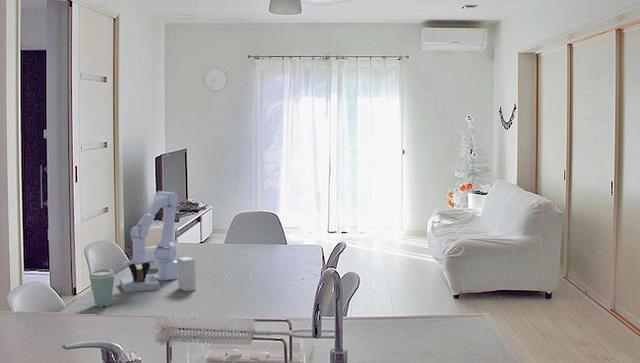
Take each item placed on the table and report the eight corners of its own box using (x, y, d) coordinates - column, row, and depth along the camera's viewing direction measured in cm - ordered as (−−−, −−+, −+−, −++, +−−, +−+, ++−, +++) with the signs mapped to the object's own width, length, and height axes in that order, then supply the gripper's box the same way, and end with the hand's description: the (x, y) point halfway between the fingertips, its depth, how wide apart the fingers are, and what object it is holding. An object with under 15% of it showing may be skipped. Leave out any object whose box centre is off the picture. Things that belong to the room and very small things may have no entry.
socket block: (153, 281, 335) (153, 275, 335) (159, 289, 321) (159, 283, 320) (119, 284, 329) (119, 278, 328) (124, 292, 314) (124, 285, 314)
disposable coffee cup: (112, 308, 287) (111, 273, 286) (86, 308, 286) (85, 273, 285) (117, 301, 298) (117, 268, 296) (92, 301, 297) (92, 268, 295)
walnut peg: (141, 282, 327) (141, 268, 327) (144, 284, 324) (144, 269, 324) (133, 283, 325) (133, 269, 325) (136, 285, 322) (136, 270, 321)
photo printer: (164, 267, 367) (164, 245, 366) (164, 269, 363) (164, 246, 362) (145, 268, 365) (145, 245, 364) (144, 269, 361) (144, 247, 360)
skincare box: (196, 290, 320) (196, 259, 319) (183, 291, 317) (183, 260, 315) (189, 286, 327) (189, 256, 326) (177, 288, 324) (177, 257, 322)
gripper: (150, 248, 331) (150, 275, 332) (121, 251, 322) (121, 279, 323) (156, 250, 325) (156, 278, 326) (126, 253, 316) (126, 282, 318)
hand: (139, 279), depth 324 cm, fingers closed on walnut peg, 4 cm apart
